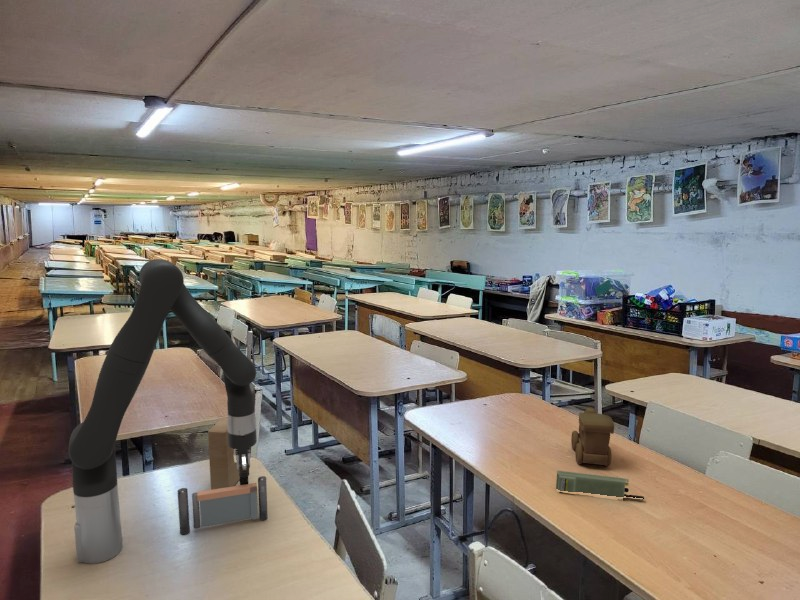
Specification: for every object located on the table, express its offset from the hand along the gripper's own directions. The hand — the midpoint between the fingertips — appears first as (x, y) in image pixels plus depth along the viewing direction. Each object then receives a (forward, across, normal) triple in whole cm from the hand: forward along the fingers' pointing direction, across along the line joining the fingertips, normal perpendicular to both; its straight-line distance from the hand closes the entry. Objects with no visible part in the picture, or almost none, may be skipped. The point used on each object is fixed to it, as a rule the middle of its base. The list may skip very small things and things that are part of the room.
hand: (244, 486), depth 146 cm
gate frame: (+8, +5, -6) cm, 11 cm away
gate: (+7, +5, -5) cm, 10 cm away
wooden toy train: (+8, +4, +116) cm, 116 cm away
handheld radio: (+8, +25, +101) cm, 105 cm away
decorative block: (+8, -17, -4) cm, 19 cm away
